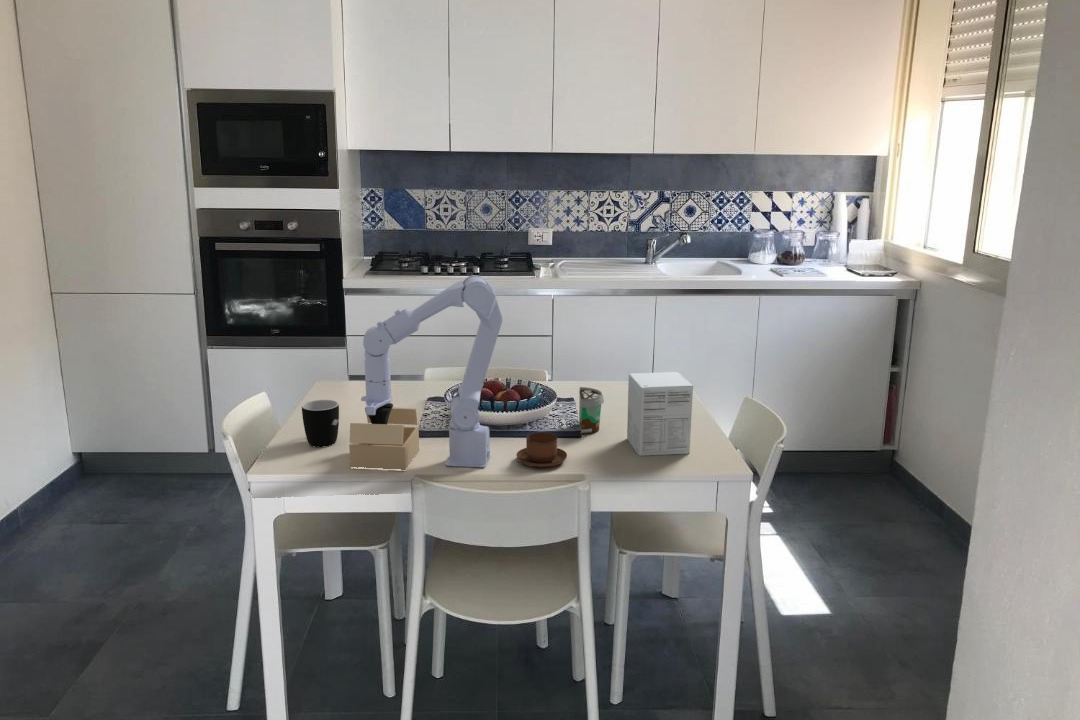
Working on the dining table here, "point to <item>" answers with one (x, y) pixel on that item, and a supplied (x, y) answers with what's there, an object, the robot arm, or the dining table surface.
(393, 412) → the far flap
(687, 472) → the dining table surface
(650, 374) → the supplement box
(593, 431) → the food container
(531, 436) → the cup and saucer
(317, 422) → the mug
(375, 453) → the carton
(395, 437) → the near flap
